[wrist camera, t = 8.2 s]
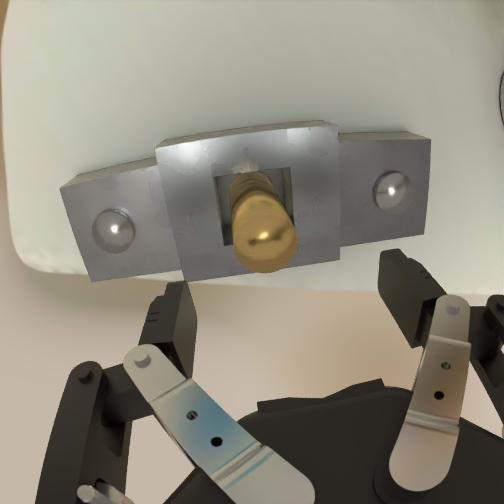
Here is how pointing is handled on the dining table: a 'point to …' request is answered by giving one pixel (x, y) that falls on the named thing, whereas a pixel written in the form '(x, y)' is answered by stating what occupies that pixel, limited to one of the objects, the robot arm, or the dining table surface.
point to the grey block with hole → (239, 161)
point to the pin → (260, 224)
